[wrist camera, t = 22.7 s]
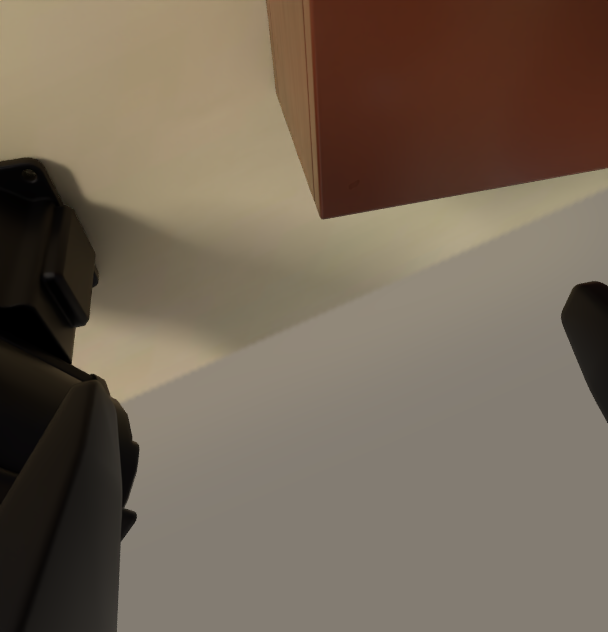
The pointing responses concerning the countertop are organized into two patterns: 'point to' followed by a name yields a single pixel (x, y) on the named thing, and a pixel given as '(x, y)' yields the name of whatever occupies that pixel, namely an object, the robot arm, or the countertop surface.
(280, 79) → the cabinet
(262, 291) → the countertop surface
